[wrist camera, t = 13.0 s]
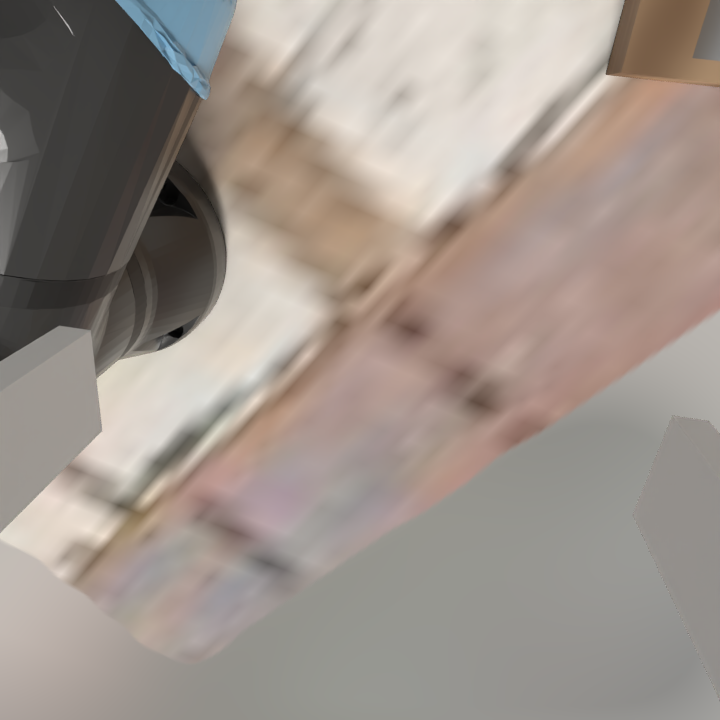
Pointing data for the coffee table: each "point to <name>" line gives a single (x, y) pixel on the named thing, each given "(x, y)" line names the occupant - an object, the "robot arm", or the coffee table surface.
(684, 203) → the coffee table surface
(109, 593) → the coffee table surface
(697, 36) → the wooden pallet
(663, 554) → the robot arm
